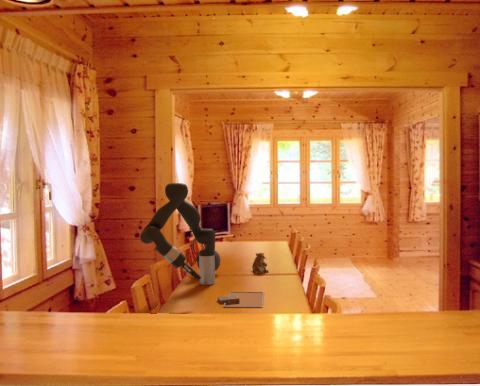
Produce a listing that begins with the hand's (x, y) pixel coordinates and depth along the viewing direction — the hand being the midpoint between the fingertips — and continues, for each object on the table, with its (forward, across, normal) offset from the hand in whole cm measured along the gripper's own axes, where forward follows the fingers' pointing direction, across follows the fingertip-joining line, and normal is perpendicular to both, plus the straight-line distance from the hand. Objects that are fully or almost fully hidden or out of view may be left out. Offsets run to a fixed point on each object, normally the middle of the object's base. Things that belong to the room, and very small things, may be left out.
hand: (199, 278), depth 214 cm
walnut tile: (+15, -1, +2) cm, 15 cm away
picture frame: (+26, -1, -7) cm, 27 cm away
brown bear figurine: (+48, +60, -27) cm, 81 cm away
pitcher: (+22, +65, -2) cm, 68 cm away
